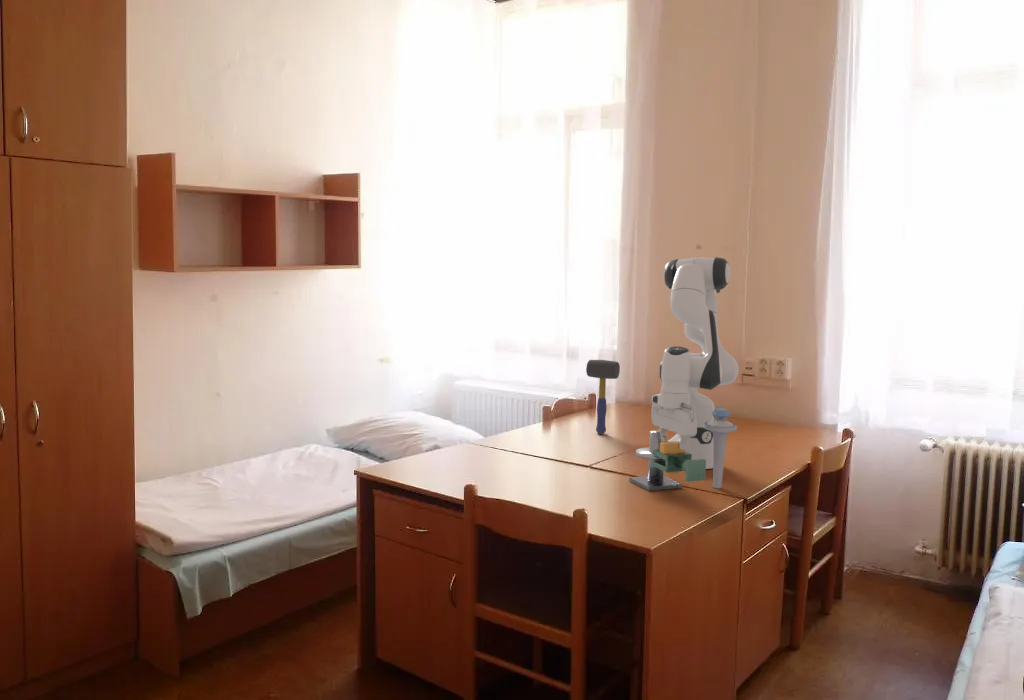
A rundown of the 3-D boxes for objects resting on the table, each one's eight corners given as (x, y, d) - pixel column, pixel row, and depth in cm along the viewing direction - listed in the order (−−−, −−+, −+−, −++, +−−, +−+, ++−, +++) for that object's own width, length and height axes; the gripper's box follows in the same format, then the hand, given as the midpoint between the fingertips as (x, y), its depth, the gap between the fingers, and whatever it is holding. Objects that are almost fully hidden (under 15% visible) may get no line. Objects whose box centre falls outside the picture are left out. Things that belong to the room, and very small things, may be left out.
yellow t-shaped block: (658, 472, 265) (660, 442, 264) (680, 471, 268) (681, 440, 266) (662, 474, 262) (664, 444, 261) (684, 473, 265) (685, 442, 264)
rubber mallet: (583, 434, 347) (585, 359, 344) (589, 430, 354) (591, 357, 351) (613, 437, 342) (615, 362, 339) (618, 433, 349) (621, 360, 346)
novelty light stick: (733, 484, 275) (737, 407, 273) (733, 493, 266) (737, 413, 263) (701, 482, 278) (705, 405, 275) (700, 490, 268) (704, 410, 266)
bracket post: (627, 480, 277) (629, 428, 276) (662, 477, 282) (664, 426, 280) (676, 506, 251) (678, 448, 249) (713, 502, 256) (716, 445, 254)
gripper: (703, 406, 254) (701, 452, 256) (665, 394, 273) (664, 437, 274) (685, 407, 252) (682, 453, 253) (648, 395, 270) (646, 439, 272)
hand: (672, 445), depth 264 cm, fingers open, 8 cm apart
